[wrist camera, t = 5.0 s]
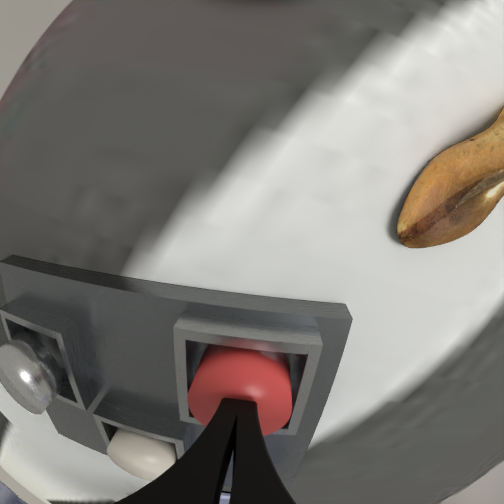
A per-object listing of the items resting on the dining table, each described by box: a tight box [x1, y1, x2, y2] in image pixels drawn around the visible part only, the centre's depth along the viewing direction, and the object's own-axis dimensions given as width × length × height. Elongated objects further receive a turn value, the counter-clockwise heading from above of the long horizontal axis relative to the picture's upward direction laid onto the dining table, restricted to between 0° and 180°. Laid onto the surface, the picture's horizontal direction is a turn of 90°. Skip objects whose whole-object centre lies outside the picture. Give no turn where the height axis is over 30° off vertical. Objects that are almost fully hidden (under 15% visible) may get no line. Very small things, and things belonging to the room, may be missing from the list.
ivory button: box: [107, 427, 177, 481], centre depth 14 cm, size 4×4×2 cm
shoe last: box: [397, 108, 504, 248], centre depth 9 cm, size 4×14×5 cm, turn 126°
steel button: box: [0, 332, 64, 414], centre depth 12 cm, size 4×4×2 cm
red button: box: [187, 344, 292, 436], centre depth 12 cm, size 4×4×2 cm
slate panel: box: [0, 255, 353, 491], centre depth 15 cm, size 17×21×3 cm
